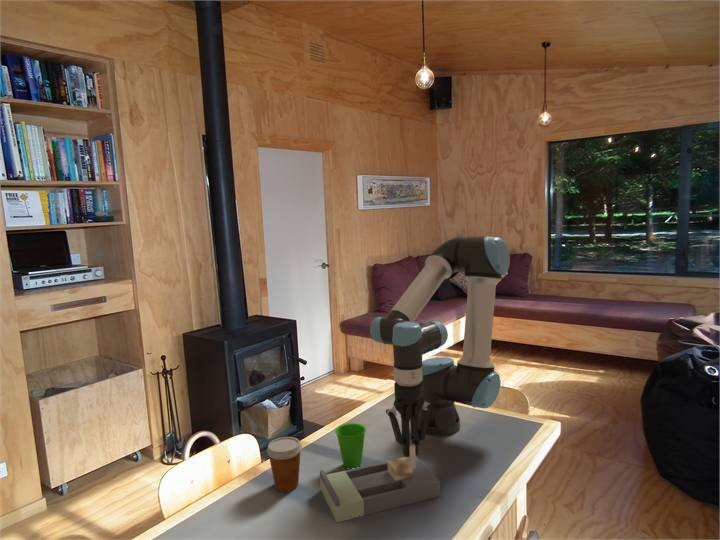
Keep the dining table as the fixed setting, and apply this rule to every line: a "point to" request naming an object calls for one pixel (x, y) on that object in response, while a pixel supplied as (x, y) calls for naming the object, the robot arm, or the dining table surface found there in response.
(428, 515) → the dining table surface
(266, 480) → the dining table surface
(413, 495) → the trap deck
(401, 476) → the block
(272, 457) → the disposable coffee cup
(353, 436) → the cup
